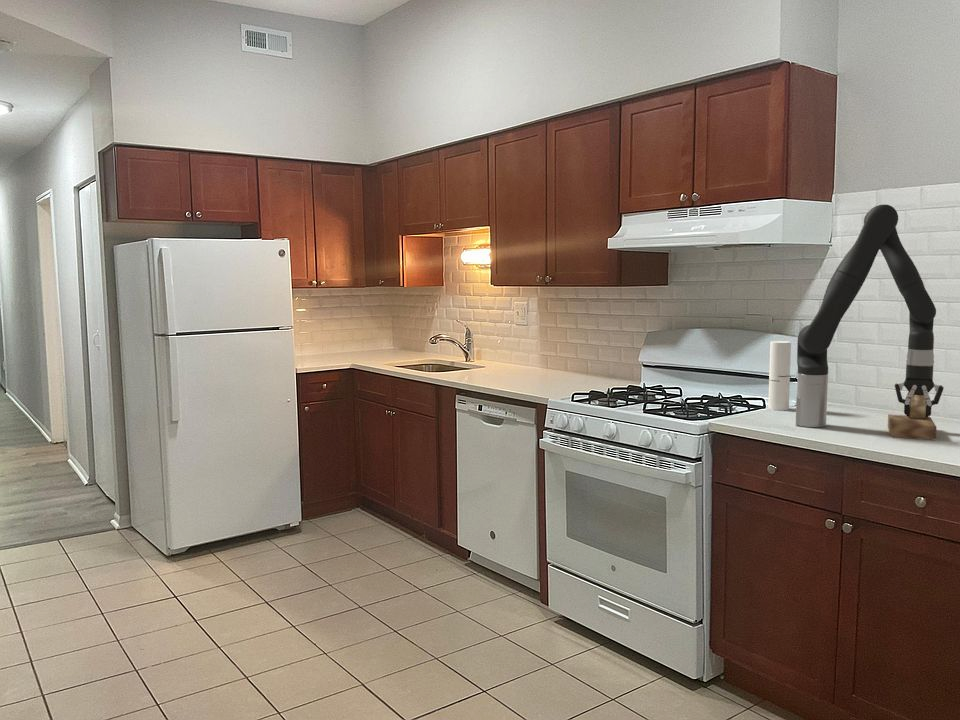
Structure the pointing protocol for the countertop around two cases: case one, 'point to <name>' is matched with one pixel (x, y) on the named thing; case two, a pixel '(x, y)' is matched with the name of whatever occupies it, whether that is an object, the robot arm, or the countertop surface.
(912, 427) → the board
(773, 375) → the cylindrical container
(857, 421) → the countertop surface
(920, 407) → the peg
